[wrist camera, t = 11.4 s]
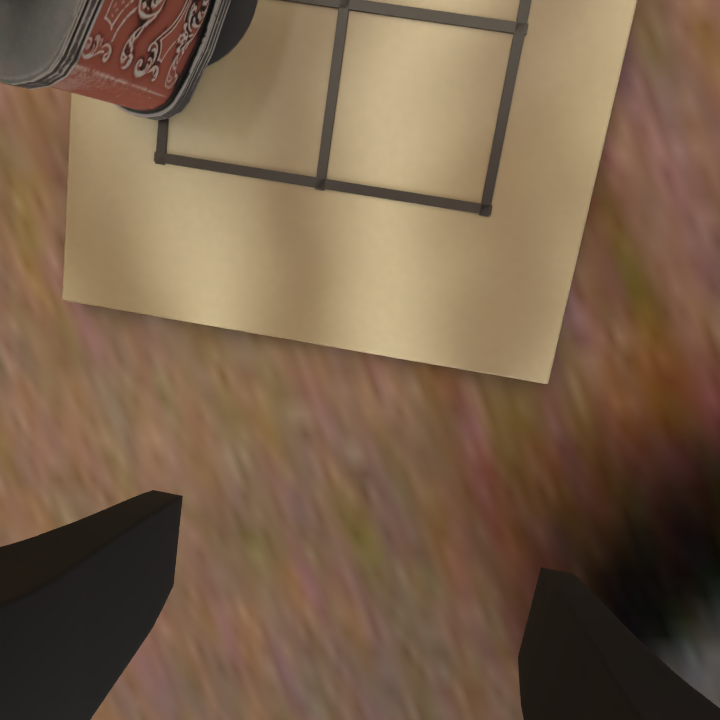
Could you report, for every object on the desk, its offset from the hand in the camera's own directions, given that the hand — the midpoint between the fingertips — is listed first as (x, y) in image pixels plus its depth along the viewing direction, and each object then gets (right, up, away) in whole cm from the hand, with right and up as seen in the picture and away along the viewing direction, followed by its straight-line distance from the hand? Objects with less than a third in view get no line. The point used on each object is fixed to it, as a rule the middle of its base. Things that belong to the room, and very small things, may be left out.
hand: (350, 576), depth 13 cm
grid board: (0, +15, +7) cm, 16 cm away
